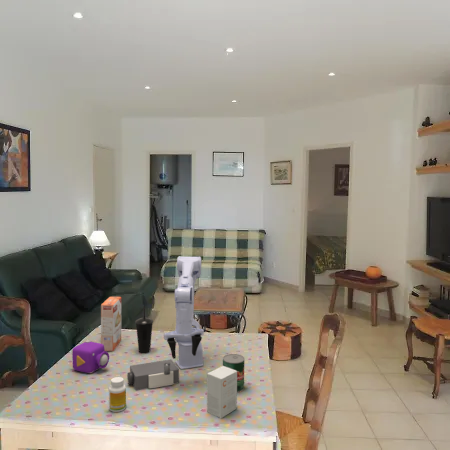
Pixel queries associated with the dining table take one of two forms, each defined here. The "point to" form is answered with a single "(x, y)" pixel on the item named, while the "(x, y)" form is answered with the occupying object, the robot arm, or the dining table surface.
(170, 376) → the side door
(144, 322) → the drinking cup
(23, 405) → the dining table surface
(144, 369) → the camera housing
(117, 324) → the cracker box
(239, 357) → the canned tomato
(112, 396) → the supplement bottle
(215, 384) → the small box
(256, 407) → the dining table surface
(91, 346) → the toy camera
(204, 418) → the dining table surface
